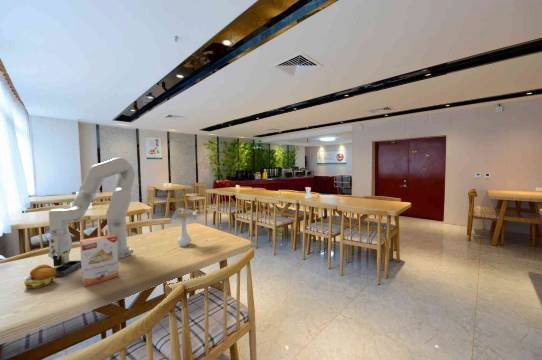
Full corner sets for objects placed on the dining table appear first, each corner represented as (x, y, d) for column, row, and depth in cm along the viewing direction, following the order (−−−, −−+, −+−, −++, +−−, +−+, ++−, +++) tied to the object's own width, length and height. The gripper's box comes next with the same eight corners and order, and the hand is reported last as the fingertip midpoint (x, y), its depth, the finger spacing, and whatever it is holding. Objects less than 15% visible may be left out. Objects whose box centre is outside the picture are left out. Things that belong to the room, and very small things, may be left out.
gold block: (69, 264, 135) (68, 252, 134) (63, 267, 130) (62, 255, 130) (60, 264, 134) (59, 252, 134) (53, 268, 130) (52, 255, 129)
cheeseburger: (36, 279, 117) (41, 259, 117) (60, 283, 118) (64, 264, 118) (16, 290, 107) (21, 268, 107) (42, 294, 108) (46, 273, 108)
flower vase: (201, 242, 170) (200, 207, 168) (179, 250, 155) (178, 212, 153) (189, 239, 177) (188, 206, 175) (167, 246, 162) (165, 210, 160)
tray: (84, 264, 134) (83, 260, 134) (64, 276, 120) (63, 271, 120) (70, 265, 134) (70, 260, 133) (48, 277, 120) (48, 272, 119)
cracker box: (84, 287, 109) (81, 242, 108) (82, 282, 114) (79, 239, 112) (119, 276, 119) (117, 235, 118) (116, 273, 123) (114, 233, 122)
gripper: (53, 235, 123) (56, 270, 124) (78, 227, 140) (80, 257, 141) (38, 236, 122) (40, 270, 123) (64, 227, 139) (66, 257, 140)
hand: (61, 263), depth 132 cm, fingers open, 5 cm apart
